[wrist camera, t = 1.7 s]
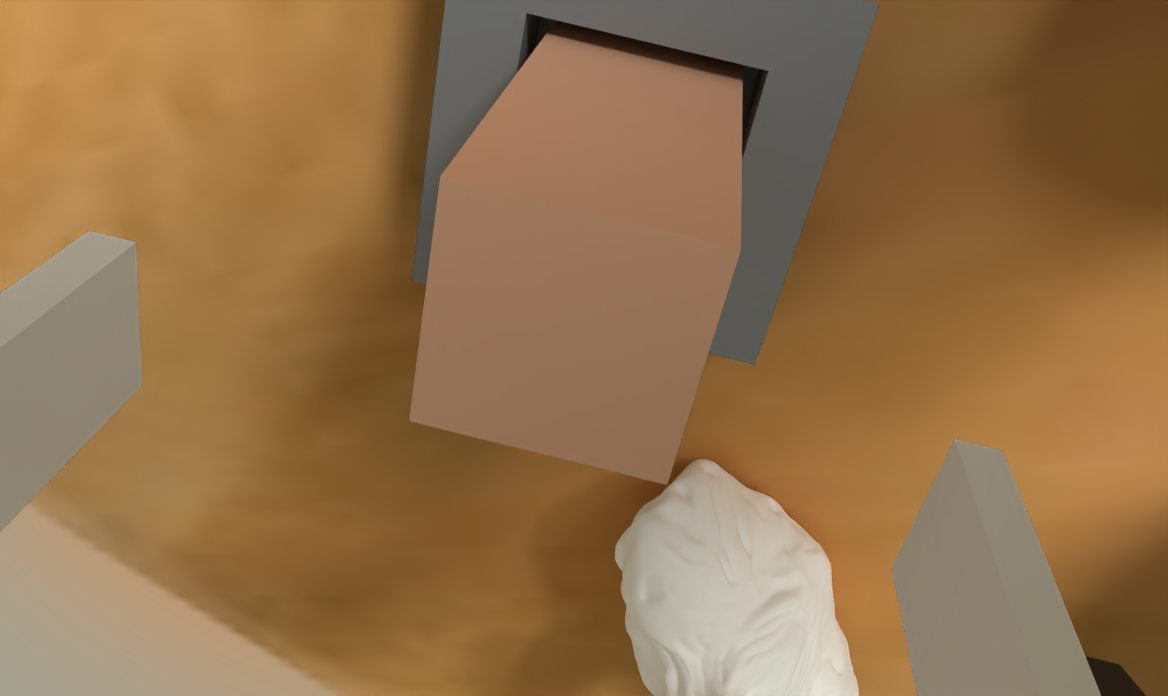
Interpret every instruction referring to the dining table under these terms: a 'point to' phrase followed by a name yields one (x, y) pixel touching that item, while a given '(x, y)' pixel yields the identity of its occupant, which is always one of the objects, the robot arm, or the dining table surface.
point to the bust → (729, 595)
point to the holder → (702, 26)
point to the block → (585, 254)
